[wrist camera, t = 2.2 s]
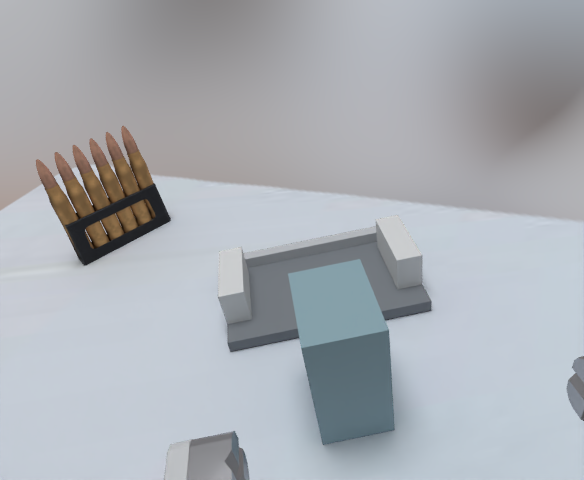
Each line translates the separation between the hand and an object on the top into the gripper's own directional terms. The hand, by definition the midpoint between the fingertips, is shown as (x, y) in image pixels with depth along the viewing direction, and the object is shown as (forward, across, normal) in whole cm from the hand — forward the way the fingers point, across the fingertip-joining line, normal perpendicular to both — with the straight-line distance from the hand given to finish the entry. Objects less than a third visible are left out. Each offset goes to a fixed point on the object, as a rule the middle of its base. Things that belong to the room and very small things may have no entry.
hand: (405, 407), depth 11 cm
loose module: (+12, 0, +17) cm, 21 cm away
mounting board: (+23, 0, +16) cm, 28 cm away
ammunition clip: (+38, +20, +16) cm, 46 cm away
